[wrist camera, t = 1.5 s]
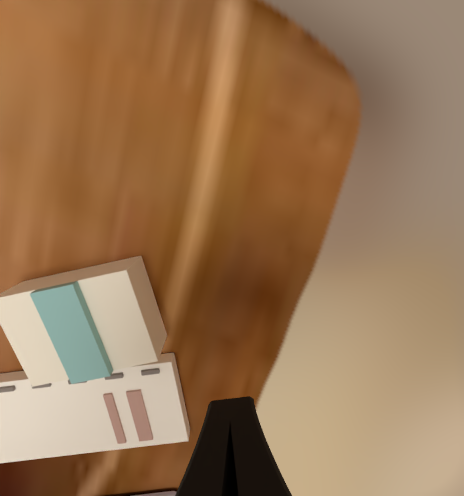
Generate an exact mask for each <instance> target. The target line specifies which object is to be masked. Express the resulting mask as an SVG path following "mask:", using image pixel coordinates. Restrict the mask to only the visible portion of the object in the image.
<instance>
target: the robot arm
mask: <svg viewBox="0 0 464 496" xmlns="http://www.w3.org/2000/svg"><path fill="white" fill-rule="evenodd" d="M132 496H292V495H291V493H290V491H289V489H288V487H287V485H286V483H285V481H284V479H283V477H282V475H281V473H280V471H279V469H278V466H277V464H276V462H275V460H274V457H273V455H272V453H271V451H270V448H269V446H268V444H267V442H266V439H265V436H264V433H263V431H262V428H261V425H260V423H259V420H258V416H257V413H256V409H255V405H254V400H253V398H251V397H250V396H249V397H241V398H232V399H224V400H215V401H211V402H210V404H209V406H208V410H207V413H206V417H205V420H204V423H203V427H202V430H201V432H200V435H199V438H198V441H197V444H196V446H195V449H194V452H193V454H192V457H191V459H190V462H189V464H188V467H187V469H186V472H185V474H184V477H183V479H182V481H181V484H180V486H179V488H178V490H177V492H176V491H167V492H158V493H150V494H141V495H132Z"/></svg>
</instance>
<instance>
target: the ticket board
mask: <svg viewBox="0 0 464 496" xmlns="http://www.w3.org/2000/svg"><path fill="white" fill-rule="evenodd" d="M189 434H190V426H189V421H188V416H187V412H186V407H185V402H184V397H183V393H182V388H181V383H180V378H179V374H178V369H177V364H176V359H175V355H174V353H166V354H160V357H159V360H158V361H156V362H151V363H147V364H142V365H137V366H132V367H127V368H122V369H117V370H113V372H112V374H111V376H109V377H104V378H99V379H94V380H89V381H84V382H79V383H74V384H71V382H70V380H69V379H68V380H63V381H58V382H53V383H48V384H44V385H39V386H34V387H32V385H31V383H30V381H29V379H28V377H27V375H26V373H25V371H17V372H9V373H0V463H6V462H15V461H23V460H32V459H40V458H49V457H57V456H66V455H75V454H83V453H92V452H100V451H109V450H117V449H126V448H134V447H143V446H151V445H160V444H168V443H177V442H185V441H189Z"/></svg>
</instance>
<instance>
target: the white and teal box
mask: <svg viewBox="0 0 464 496" xmlns="http://www.w3.org/2000/svg"><path fill="white" fill-rule="evenodd" d="M0 324H1V326H2V328H3V330H4V332H5V334H6V336H7V338H8V340H9V342H10V344H11V346H12V348H13V350H14V352H15V354H16V356H17V358H18V360H19V362H20V363H21V365H22V367H23V369H24V371H25V373H26V375H27V377H28V379H29V381H30V383H31V385H32V387H34V386H39V385H44V384H48V383H53V382H58V381H63V380H68V379H69V380H70V382H71V384H74V383H79V382H84V381H89V380H94V379H99V378H104V377H109V376H111V374H112V372H113V370H117V369H122V368H127V367H132V366H137V365H142V364H147V363H151V362H156V361H158V360H159V357H160V354H161V352H162V349H163V346H164V343H165V340H166V338H167V333H166V330H165V327H164V324H163V321H162V318H161V315H160V312H159V308H158V305H157V302H156V299H155V296H154V293H153V290H152V287H151V284H150V281H149V278H148V275H147V272H146V268H145V265H144V262H143V259H142V256H137V257H132V258H128V259H123V260H119V261H114V262H109V263H105V264H100V265H96V266H91V267H87V268H82V269H78V270H73V271H68V272H64V273H59V274H55V275H50V276H46V277H41V278H37V279H32V280H28V281H23V282H21V283H19V284H17V285H15V286H14V287H12V288H10V289H8V290H6V291H4V292H2V293H1V294H0Z"/></svg>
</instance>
